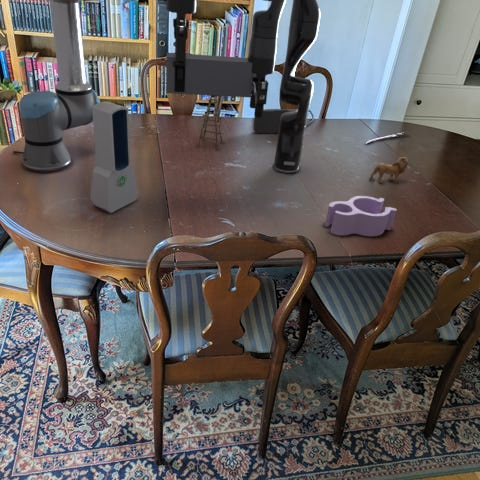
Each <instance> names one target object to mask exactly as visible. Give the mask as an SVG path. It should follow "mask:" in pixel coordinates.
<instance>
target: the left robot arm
mask: <svg viewBox="0 0 480 480" xmlns="http://www.w3.org/2000/svg"><path fill="white" fill-rule="evenodd" d="M48 1H49V8H50V18H51V27H52V33H53V43H54V49H55V57H56V64H57V66H56V67H57V73H58V82H57V83H56V84H55V87H54V88H55V92H54V91H51V90H41V91H40V90H37V91H32V92H29V93H26V94H24V95H23V96H22V97H21V98H20V100H19V103H18V104H19V116H20V119H21V125H22V132H23V136H24V148H23V151H17V150H12V153H13V154H19V155H22V158H21V161H22V166H23V168H24V169H25V170H27V171H29V172H33V173H39V174H46V173H56V172H61V171H63V170H66V169H67V168H69V167H70V166H71V163H72V159H71V155H70V153H69V151H68V150H67V149H68V148H67V147H66V145H65V143H64V140H63V131H66V130H71V129H73V128H78V127H81V126H87V125H89V124H91V123H92V124H93V114H92V107H93V106H94V105H96V104H97V103H99V102H101V100H100V97H99V96H98V93H97V92H96V91H95V90H94V89H93V87H92V85H91V83H89V81H88V80H87V73H86V63H85V54H84V53H85V51H84V42H83V41H84V40H83V31H82V22H81V21H82V20H81V12H80V11H81V10H80V2H81V0H48ZM165 1H166V2H165V4H166V5H165V6H166V7H165V8H166V11H167V12H169V13H173V14H176V15H175V18H173V19H172V27H173V39H174V53H176V63H175V65H174V64H173V67H175V92H185V66H186V54H187V40H188V37H189V36H188V35H189V33H188V32H189V28H190V21H189V19H187V15H194V14H195V13H197V0H165ZM179 61H180V62H179Z"/></svg>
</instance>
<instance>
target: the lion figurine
mask: <svg viewBox="0 0 480 480" xmlns="http://www.w3.org/2000/svg"><path fill="white" fill-rule="evenodd" d="M408 164H409V161H408V157H406V156H401V157H398V158H397V160H396V161H395V163H393V164H386V163H379V164H377V166H376V167H375V168H374V170H373V171H372V173H371V174H370V177H369V179H368V181H370V182H371V181H372V180H374V179H375V178H374V176H375V175H377V174H378V176H377V177H378V178H377V179H378V181H379V183H380V184H384V181H383V180H382V178H383V176H384V174H386V175H390V176H389V180H390V181H391V180H393V182H394V183H396V184H397V183H398V182H399V181H398V178H399V176H400V175H401V174H403V173H405V171H406V169H407V167H408V166H409V165H408Z"/></svg>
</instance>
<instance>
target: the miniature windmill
mask: <svg viewBox="0 0 480 480" xmlns="http://www.w3.org/2000/svg"><path fill="white" fill-rule="evenodd" d="M208 97H209V99H208V105H206V107H207V108H206V111H205V116H204V118H203V123H202V127H201V130H200V135H199V136H198V138H199V139H198V143H197V146H198V147H200V144H201V141H202V140H213V141H215V146H216V147H215V148H216V150H219V140H220V143H224V142H223V141H224V140H223V133H222V128H221V119H220V109H219V104H218V103H219V102H218V101H219V99H218V97H219V96H213V95H208ZM212 104H213V105H214V109H213V108H211V105H212ZM210 111H213V112H210ZM210 115H214V119H209V116H210ZM209 122H214V123H215V124H209ZM208 126H210V127H215V131H211V130H210V131H209V130H207V128H208ZM218 130H219V132H218ZM207 133H210V134H215V138H213V137H212V138H211V137H206V134H207ZM218 135H219V137H218Z"/></svg>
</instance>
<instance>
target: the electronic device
mask: <svg viewBox="0 0 480 480" xmlns="http://www.w3.org/2000/svg"><path fill="white" fill-rule="evenodd" d="M92 114H93V122H92V124H93V125H92V126H93V136H94V137H93V138H94V150H95V161H96V165H95V166H94V168H93V170H92V174H91V175H92V176H91V185H90V198H89V199H90V200H91V202H92V204H93V206H95V207H96V208H99V209H101V210H103V211H106V212H108V213H110V214H112V213H114V212H116V211H118V210H120V209H122V208H124V207H125V206H128V205H130V204H131V203H134V202H135V201H136V200H137V199H138V194H139V193H138V187H137V178H136V169H135V165H133V164H132V163H131V145H130V143H131V142H130V116H129V107H126V106H123V105H119V104H116V103H113V102H110V101H100V102H99V103H97V104H96V105H94V106H93V107H92Z"/></svg>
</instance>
